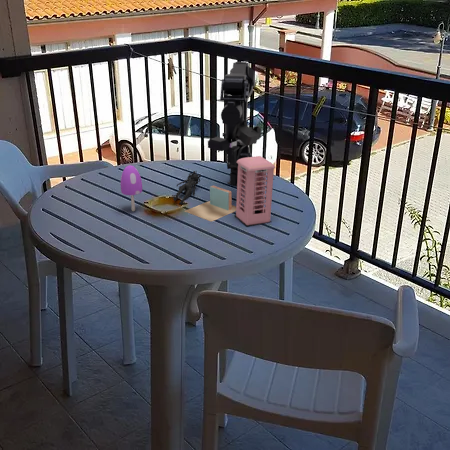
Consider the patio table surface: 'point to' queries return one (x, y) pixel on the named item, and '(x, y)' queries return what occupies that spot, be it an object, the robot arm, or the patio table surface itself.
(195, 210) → the mat
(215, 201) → the tile
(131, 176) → the toy
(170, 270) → the patio table surface
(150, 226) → the patio table surface
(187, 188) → the figurine
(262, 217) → the miniature model
